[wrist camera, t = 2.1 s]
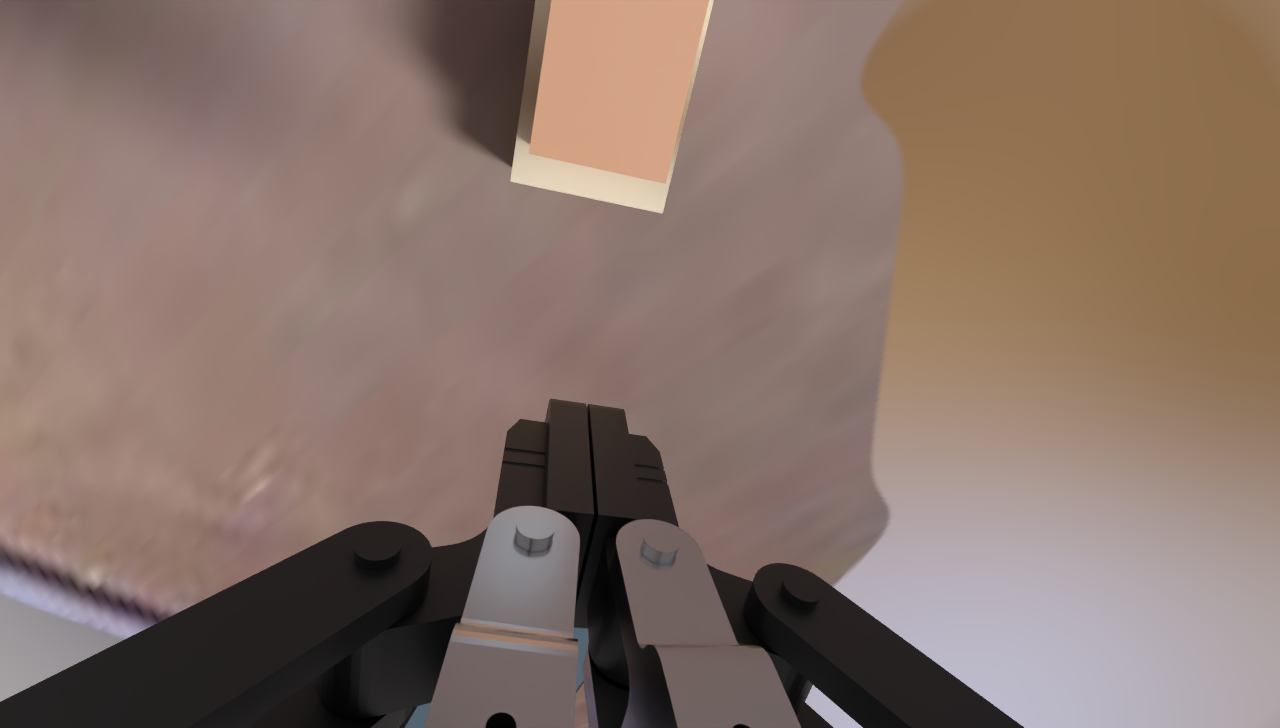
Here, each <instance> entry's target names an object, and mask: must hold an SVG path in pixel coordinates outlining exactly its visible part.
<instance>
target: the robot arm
mask: <svg viewBox="0 0 1280 728" xmlns="http://www.w3.org/2000/svg"><path fill="white" fill-rule="evenodd" d="M663 469H664V467H663V463H662V459H661V455H660V452H659V451H658V449H657V448H656V447H655V446H654V445H653V444H652V443H651V441H650V440H649V439H648V438H647V437H646V436H640V435H633V434H629V432H628V427H627V422H626V416H625V411H624V409H619V408H612V407H605V406H598V405H592V404H588V406H587V407H586V404H584V403H577V402H570V401H563V400H557V399H550V400H549V404H548V409H547V414H546V419H545V422H538V421H531V420H524V419H520V420H519V421H518V422H517V423H516V424H515V425H513V426H512V427H511V428H510V429H509V430H508V431H507V436H506V442H505V449H504V455H503V461H502V467H501V473H500V479H499V485H498V492H497V498H496V504H495V510H494V517H493V519H492V521H491V522H490V524H489V526H488V527H487V528H486V529H485V530H484V531H483V532H482V533H481V534H479V535H477V536H476V537H474V538H472V539H470V540H467V541H464V542H461V543H458V544H453V545H447V546H440V547H431V545H430V543H429V541H428V539H427V538H426V537H425V536H424V535H423V534H422V533H421V532H419V531H418V530H416V529H414V528H413V527H410V526H408V525H405V524H401V523H397V522H389V521H376V522H367V523H362V524H358V525H355V526H352V527H350V528H347V529H345V530H343V531H341V532H339V533H337V534H335V535H333V536H331V537H329V538H327V539H325V540H323V541H321V542H319V543H317V544H315V545H313V546H311V547H309V548H307V549H305V550H303V551H301V552H299V553H297V554H295V555H293V556H291V557H289V558H287V559H285V560H283V561H281V562H279V563H277V564H275V565H273V566H271V567H269V568H267V569H265V570H263V571H261V572H259V573H257V574H255V575H253V576H251V577H249V578H247V579H245V580H243V581H241V582H239V583H237V584H235V585H233V586H231V587H229V588H227V589H225V590H223V591H221V592H219V593H217V594H215V595H213V596H211V597H209V598H207V599H205V600H203V601H201V602H199V603H197V604H195V605H193V606H191V607H189V608H187V609H185V610H183V611H181V612H179V613H177V614H175V615H173V616H171V617H169V618H167V619H165V620H163V621H161V622H159V623H157V624H155V625H153V626H151V627H149V628H147V629H145V630H143V631H141V632H139V633H137V634H135V635H133V636H131V637H129V638H127V639H125V640H123V641H121V642H119V643H117V644H115V645H113V646H111V647H109V648H107V649H105V650H103V651H101V652H99V653H97V654H95V655H93V656H91V657H89V658H87V659H86V660H83V661H81V662H79V663H77V664H75V665H74V666H71V667H69V668H67V669H65V670H63V671H61V672H59V673H57V674H55V675H53V676H51V677H49V678H47V679H45V680H43V681H41V682H39V683H37V684H35V685H34V686H31V687H29V688H27V689H26V690H23V691H21V692H19V693H17V694H15V695H13V696H11V697H9V698H7V699H5V700H3V701H1V702H0V728H398V727H399V726H400V725H401V724H402V723H403V722H404V721H405V720H406V718H407V717H408V716H409V714H410V712H411V710H412V708H413V707H416V706H420V705H424V704H428V703H431V705H430V709H429V712H428V716H427V719H426V722H425V726H424V728H574V715H575V699H576V683H577V667H578V639H574V638H573V630H574V628H586V629H588V638H589V643H588V647H587V651H586V655H585V659H584V663H583V681H584V690H585V698H586V706H587V715H588V723H589V728H833V727H832V726H831V725H830V724H829V723H828V722H827V721H825V720H824V719H823V718H822V717H821V716H820V715H819V714H817V713H816V712H815V711H814V710H813V709H812V708H811V707H810V706H808V705H807V704H806V703H805V700H806V698H807V696H808V694H809V692H810V689H811V687H812V685H814V686H815V687H816V688H818V689H819V690H820V691H821V692H822V693H823V694H825V695H826V696H827V697H828V698H829V699H831V700H832V701H833V702H834V703H835V704H836V705H837V706H839V707H840V708H841V709H842V710H843V711H844V712H846V713H847V714H848V715H849V716H850V717H851V718H853V719H854V720H855V721H856V722H857V723H858V724H860V725H861V726H862V727H863V728H1024V727H1023V726H1021V725H1020V724H1018V723H1017V722H1016V721H1014V720H1013V719H1012V718H1010V717H1009V716H1008V715H1006V714H1005V713H1003V712H1002V711H1001V710H999V709H998V708H997V707H995V706H994V705H993V704H991V703H990V702H989V701H987V700H986V699H984V698H983V697H982V696H980V695H979V694H978V693H976V692H975V691H974V690H972V689H971V688H969V687H968V686H967V685H965V684H964V683H963V682H961V681H960V680H959V679H957V678H956V677H955V676H953V675H952V674H950V673H949V672H948V671H946V670H945V669H944V668H942V667H941V666H940V665H938V664H937V663H935V662H934V661H932V660H931V659H930V658H929V657H927V656H926V655H924V654H923V653H922V652H920V651H919V650H918V649H916V648H915V647H914V646H912V645H911V644H910V643H908V642H907V641H905V640H904V639H903V638H901V637H900V636H899V635H897V634H896V633H894V632H893V631H892V630H890V629H889V628H888V627H886V626H885V625H884V624H882V623H881V622H880V621H878V620H877V619H875V618H874V617H873V616H871V615H870V614H869V613H867V612H866V611H865V610H863V609H861V608H860V607H859V606H858V605H856V604H855V603H854V602H852V601H851V600H849V599H848V598H847V597H845V596H844V595H843V594H841V593H840V592H839V591H837V590H836V589H835V588H833V587H832V586H830V585H829V584H828V583H826V582H825V581H824V580H822V579H821V578H819V577H818V576H816V575H815V574H813V573H811V572H809V571H808V570H805V569H803V568H800V567H797V566H794V565H790V564H783V563H775V564H769V565H766V566H764V567H762V568H761V569H759V570H758V572H757V573H756V575H755V577H754V580H753V582H752V581H749V580H746V579H743V578H740V577H737V576H734V575H731V574H728V573H725V572H723V571H720V570H718V569H716V568H714V567H712V566H710V565H708V564H706V561H705V559H704V556H703V554H702V551H701V549H700V547H699V545H698V544H697V542H696V541H695V540H694V539H693V538H692V537H691V536H690V535H689V534H688V533H687V532H685V531H684V530H682V529H681V528H679V525H678V522H677V518H676V514H675V510H674V506H673V502H672V498H671V494H670V490H669V487H668V484H667V479H666V475H665V471H663Z"/></svg>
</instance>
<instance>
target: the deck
mask: <svg viewBox="0 0 1280 728" xmlns="http://www.w3.org/2000/svg"><path fill="white" fill-rule="evenodd" d="M713 1H714V0H709V3H708V7H707V12H706V16H705V20H704V24H703V29H702V33H701V37H700V41H699V45H698V50H697V54H696V58H695V62H694V66H693V71H692V75H691V79H690V83H689V88H688V92H687V96H686V100H685V104H684V109H683V113H682V117H681V121H680V126H679V130H678V134H677V138H676V142H675V147H674V151H673V155H672V159H671V164H670V168H669V172H668V176H667V180H666V184H664V183H659V182H654V181H650V180H645V179H641V178H636V177H632V176H627V175H623V174H618V173H614V172H609V171H604V170H600V169H595V168H591V167H586V166H582V165H577V164H573V163H568V162H564V161H559V160H554V159H550V158H545V157H541V156H536V155H532V154H529V149H530V142H531V136H532V129H533V122H534V115H535V109H536V102H537V95H538V88H539V81H540V75H541V68H542V61H543V54H544V48H545V41H546V34H547V27H548V20H549V14H550V7H551V0H535V7H534V14H533V22H532V29H531V36H530V43H529V51H528V58H527V65H526V72H525V79H524V87H523V94H522V101H521V108H520V116H519V123H518V130H517V137H516V144H515V152H514V159H513V166H512V173H511V182H515V183H520V184H525V185H530V186H534V187H539V188H544V189H549V190H553V191H558V192H563V193H568V194H572V195H577V196H582V197H587V198H591V199H596V200H601V201H606V202H610V203H615V204H620V205H625V206H630V207H634V208H639V209H644V210H649V211H653V212H658V213H663V210H664V206H665V202H666V197H667V193H668V189H669V185H670V181H671V176H672V172H673V168H674V164H675V160H676V156H677V151H678V147H679V143H680V139H681V135H682V131H683V126H684V122H685V118H686V114H687V110H688V106H689V101H690V97H691V93H692V89H693V85H694V81H695V76H696V72H697V68H698V64H699V60H700V55H701V51H702V47H703V43H704V39H705V35H706V30H707V26H708V22H709V18H710V14H711V10H712V5H713Z"/></svg>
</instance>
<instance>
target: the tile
mask: <svg viewBox="0 0 1280 728" xmlns="http://www.w3.org/2000/svg"><path fill="white" fill-rule="evenodd" d="M708 3H709V0H551V7H550V14H549V20H548V27H547V34H546V41H545V48H544V54H543V61H542V68H541V75H540V81H539V88H538V95H537V102H536V109H535V115H534V122H533V129H532V136H531V142H530V149H529V154H532V155H536V156H541V157H545V158H550V159H554V160H559V161H564V162H568V163H573V164H577V165H582V166H586V167H591V168H595V169H600V170H604V171H609V172H614V173H618V174H623V175H627V176H632V177H636V178H641V179H645V180H650V181H654V182H659V183H664V184H666V180H667V176H668V172H669V168H670V164H671V159H672V155H673V151H674V147H675V142H676V138H677V134H678V130H679V126H680V121H681V117H682V113H683V109H684V104H685V100H686V96H687V92H688V88H689V83H690V79H691V75H692V71H693V66H694V62H695V58H696V54H697V50H698V45H699V41H700V37H701V33H702V29H703V24H704V20H705V16H706V12H707V7H708Z"/></svg>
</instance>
